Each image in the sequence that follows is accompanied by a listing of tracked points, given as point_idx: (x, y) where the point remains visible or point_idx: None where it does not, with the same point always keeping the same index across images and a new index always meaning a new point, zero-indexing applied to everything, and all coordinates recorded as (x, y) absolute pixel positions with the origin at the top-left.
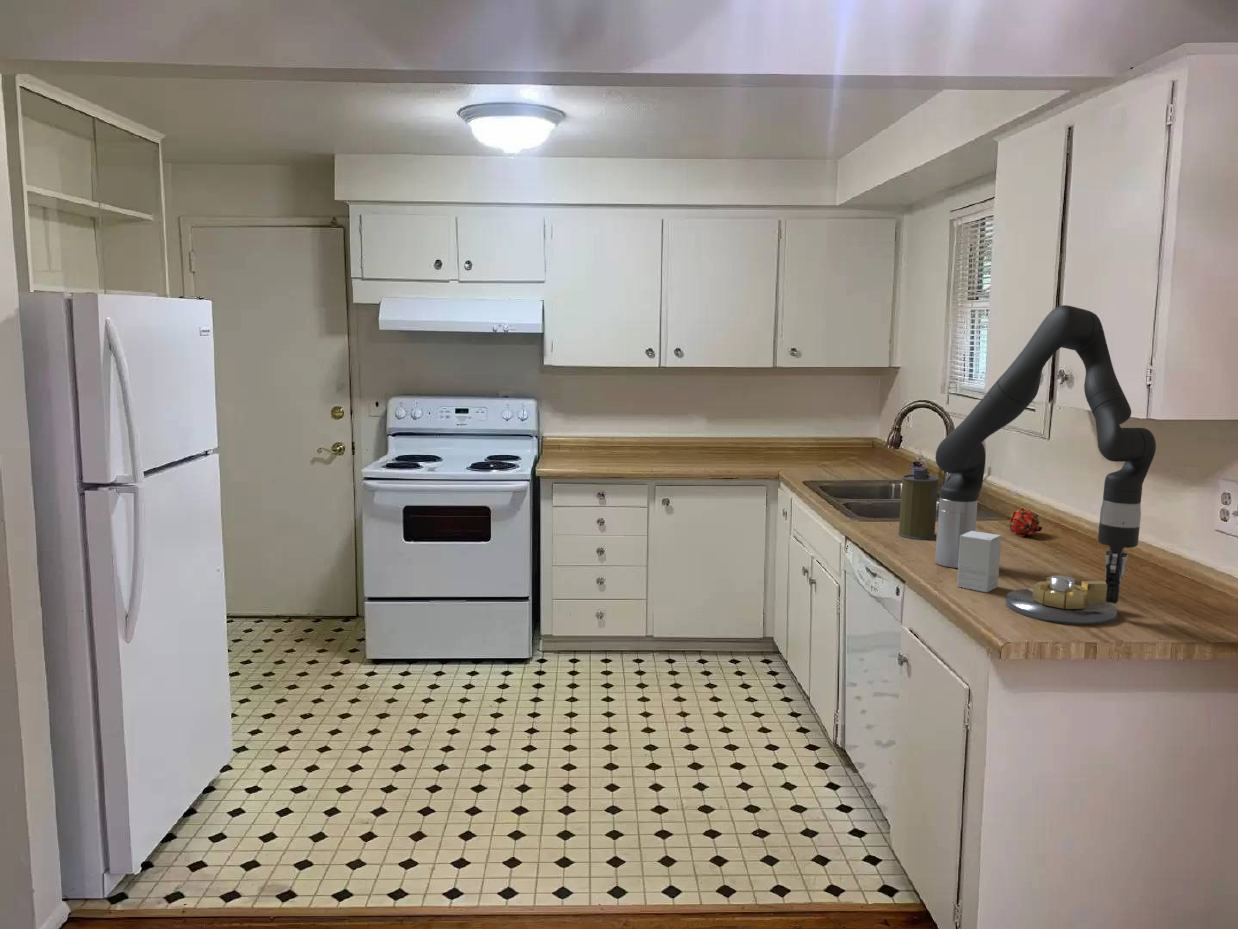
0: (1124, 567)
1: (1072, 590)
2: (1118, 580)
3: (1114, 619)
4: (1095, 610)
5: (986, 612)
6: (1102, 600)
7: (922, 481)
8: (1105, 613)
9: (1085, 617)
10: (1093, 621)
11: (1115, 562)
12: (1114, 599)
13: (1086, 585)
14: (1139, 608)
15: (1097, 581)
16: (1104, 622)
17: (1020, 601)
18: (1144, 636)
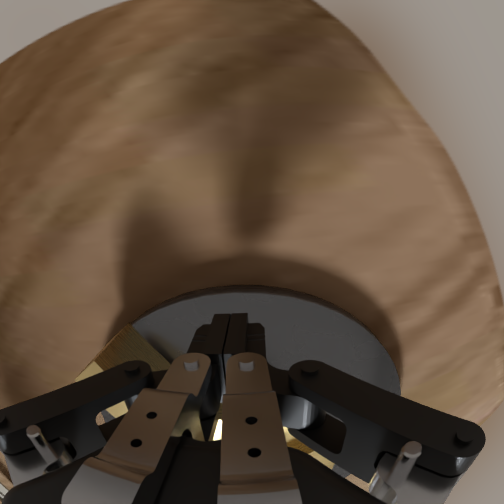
0: (172, 429)
1: (323, 459)
2: (365, 384)
3: (272, 288)
4: (271, 358)
5: (365, 484)
6: (153, 355)
7: None
8: (291, 325)
9: (380, 362)
10: (375, 337)
11: (446, 498)
12: (264, 330)
13: None
14: (59, 233)
15: (115, 414)
16: (342, 310)
17: None
18: (400, 176)
